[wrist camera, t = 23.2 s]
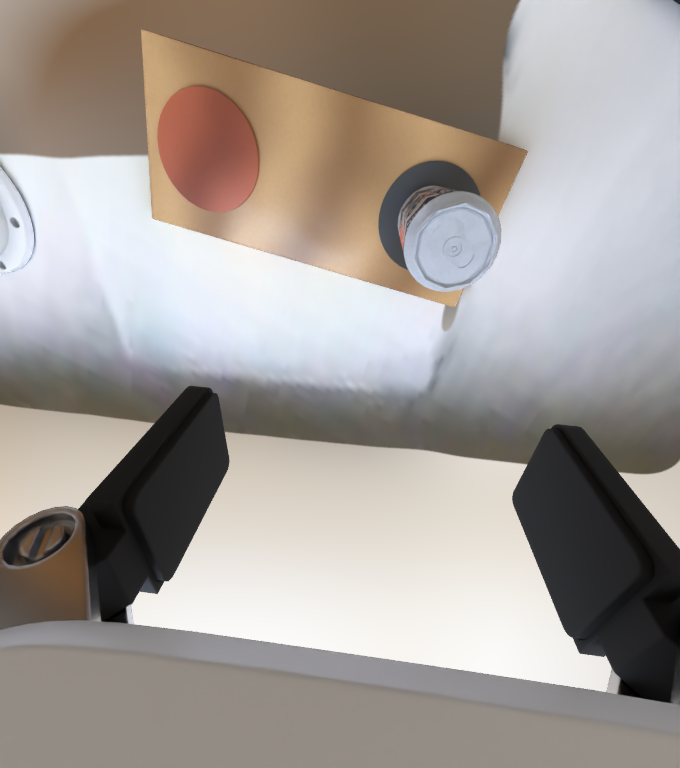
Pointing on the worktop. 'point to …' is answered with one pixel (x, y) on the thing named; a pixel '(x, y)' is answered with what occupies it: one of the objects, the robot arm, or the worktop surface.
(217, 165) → the board
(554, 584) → the robot arm
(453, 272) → the beer can
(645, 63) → the worktop surface
